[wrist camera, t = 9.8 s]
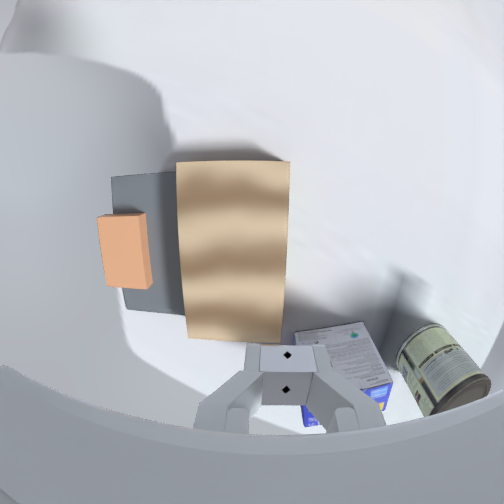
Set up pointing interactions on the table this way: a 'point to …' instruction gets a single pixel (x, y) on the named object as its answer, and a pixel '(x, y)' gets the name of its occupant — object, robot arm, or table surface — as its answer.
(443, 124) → the table surface
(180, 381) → the table surface
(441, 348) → the coffee can
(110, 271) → the block
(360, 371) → the ink cartridge box
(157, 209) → the mat
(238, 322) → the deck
